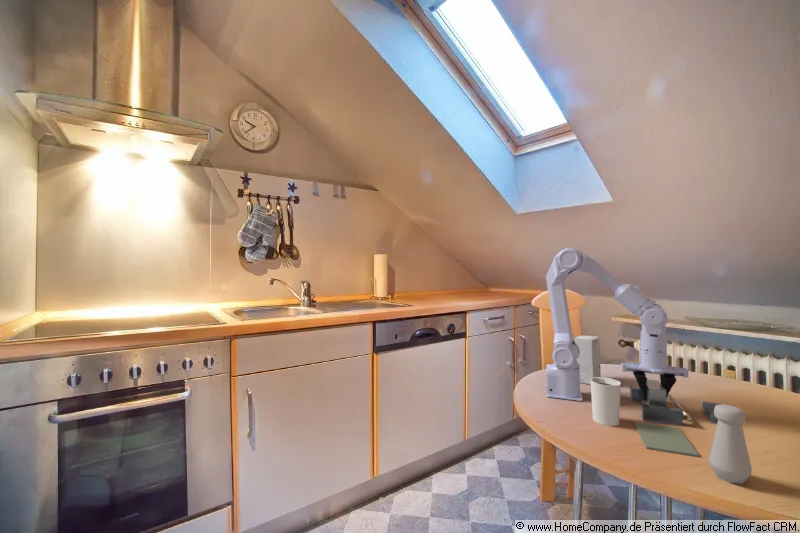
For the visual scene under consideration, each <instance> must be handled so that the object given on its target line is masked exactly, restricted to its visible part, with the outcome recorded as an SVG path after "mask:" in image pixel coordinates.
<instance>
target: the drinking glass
mask: <svg viewBox="0 0 800 533" xmlns="http://www.w3.org/2000/svg"><path fill="white" fill-rule="evenodd" d="M590 381H591V385H590V392H591V394H590V396H591V409H592V413H591V414H592V420H593V422H595V423H597V424H599V425H602V426H606V427H617V426H619V424H620V411H621V408H620V407H621V387H622V385H621V382H620V381H619V380H617V379H614V378H609V377H604V376H603V377H602V376H601V377H593V378H591V380H590Z"/></svg>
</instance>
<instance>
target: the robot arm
mask: <svg viewBox="0 0 800 533" xmlns="http://www.w3.org/2000/svg"><path fill="white" fill-rule="evenodd" d="M574 271H579V272H584V273H587V274H588V273H589V274H591V275H592V276H593V277H595V278H596V279H597V280H599V281H600V282H601V283H602V284H604V285H605V286H606V287H608V288H609V290H612V291H613V293H614V299H615V300H616V301H617V302H618V303H619V304H621V305H622V306H623V307H624V308H626V309H627V310H628V311H629V312H630V313H632V314H633V315H635V316H639V320H640V322H641V330H640V340H639V341H640V362H621V364H620V365H621V366H620V367H621V371H622V372H623V373H625V372H631V373H632V374H633V376H634V378H635V380H636V382H637V384H638V387H639V388H640V391H641V395H642V399H643V401H647V393H646V385H647V380H648V378H647V374H652V375H653V374H654V375H659V381H660V384H661V385H662V386H663V387H664V388H665V389H666V401H667V399H668V395H670V394H669V393H670V392H671V390H672V388H673V387H674V385H676V382H677V378H676V377H682V378H689V370H688V369H687V368H685V367H676V366H671V365H667V364H668V357H667V356H668V350H667V349H668V346H667V345H668V343H667V342H668V337H667V336H668V335H667V333H666V332H667V326H666V325H667V323H668V321H669V317H668V315H667V313H666V311H665V309H664V308H663V307H662V306H661V305H660V304H657V301H656V299H654V298H652V299H651V298H650V297H649V296H648V295H646V294H644V293H643V292H642V291H641V287H640V286H638V285H634V284H632V283H623V282H622V281H620V280H619V279H618V278H617V277H616V276H614V274H612V273H611V272H610V271H609V270H607V268H605V267H604V266H602V264H601V263H599V262H598V261H597V260H595V259H594V258H592V257H591V256H589V255H587V254H586V253H583V251H582V250H579V249H577V248H572V247H567V248H564V249H561V250H560V251H559V252H558V253H557V254H556V255H555V256H554V257H553V260H552V263H551V265H550V267H549V269H548V271H547V273H546V275H545V280H546V286H547V287H546V288H547V293H548V300H549V306H550V307H549V308H550V312H551V319H552V320H551V321H552V326H553V332H554V336H553V337H554V338H553V351H552V354H551V358H552V363H551V364H549V363H547V364H546V382H545V389H546V397H548V398H554V399H562V400H570V401H578V402H583V395H582V391H581V383H580V365H579V364H578V362H577V360H576V359H577V358H578V357H579V355H580V350H579V347H578V346H577V344H576V343H575V339H574V338H575V336H574V334H573V331H572V324H571V317H570V311H569V305H568V298H567V292H566V285H565V281H566V280H567V278H568V277H569V276H570V275H571V274H572V273H573V272H574Z"/></svg>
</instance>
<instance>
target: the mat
mask: <svg viewBox="0 0 800 533" xmlns="http://www.w3.org/2000/svg"><path fill="white" fill-rule="evenodd" d="M633 424H634V427H635V429H636V430H637V433H638V434H639V436H640V438H641V440H642V442H643V444H644V446H645V448H646V449H647V450H653V451H660V452H667V453H673V454H678V455H684V456H685V455H686V456H689V457H690V456H691V457H697V458H700V454H699V453H698V451H697V450H696V448H694V447H693V445H692V444H691V442H690V441H689V440H688V439H687V436H685V435H684V433H683V432H682V430H681V429H680V428H679V427H676V426H670V425H661V424H653V423H648V422H639V421H638V422H637V421H633Z"/></svg>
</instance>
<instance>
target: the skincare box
mask: <svg viewBox="0 0 800 533" xmlns="http://www.w3.org/2000/svg"><path fill="white" fill-rule="evenodd" d="M574 339H575V343H576V344H577V346H578V347H579V350H580V355H579V357H578V358H577V359H576V360H577V362H578V364H579V365H580V384H581V383H582V384H585V385H590V386H591V381H590V380H591V378H593V377H602V374H601V373H602V372H601V351H600V343H601V341H600V336H595V335H594V336H593V335H584V334H583V335H578V336H576V337H574Z"/></svg>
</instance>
